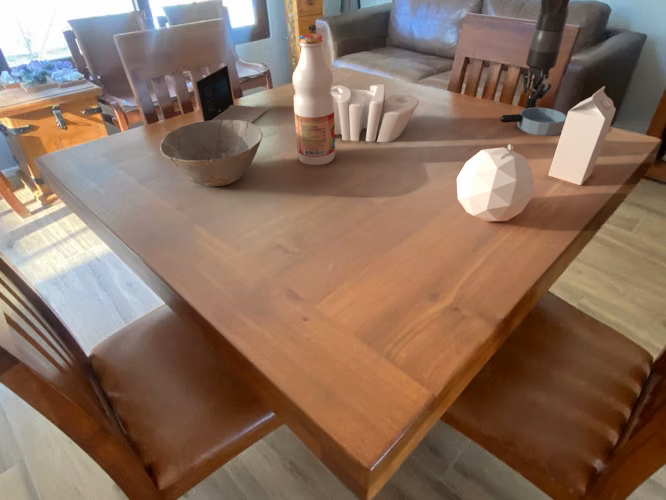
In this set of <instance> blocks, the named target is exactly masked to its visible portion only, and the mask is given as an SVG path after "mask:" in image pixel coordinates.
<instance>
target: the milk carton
mask: <svg viewBox="0 0 666 500" xmlns="http://www.w3.org/2000/svg"><path fill="white" fill-rule="evenodd" d="M605 89H606V86H605V85H604V86H602V87H601V88H600V89H598V90H597V91H595V92H594V93H593V94H592V96H590V97H588V98H586V99H584V100H582V101H579V103H577V104H576V105H574V106H573V107H572V108H570V109H569V110H568V112H567V114H566V115H567V117H566V121H565V124H564V127H563V130H562V133H560V136H559V140H558V143H557V146H556V149H555V152H554V156H553V159H552V162H551V165H550V168H549V172H548V175H547V176H548V177H551V178H555V179H558V180H561V181H564V182H568V183H572V184H574V185H577V186H582V185H583V184H584V183H585V182H586V181H587V180H588V179H589V178H590V176H591V175H592V173H593V172H594V168H595V167H596V163H597V160H598V158H599V155H600V152H601V150H602V147H603V145H604V142H605V139H606V138H607V134H608V131H609V129H610V127H611V124H612V121H613V119H614V116H615V113H616V110H617V109H616V107H615V106H614V101H613V100H612V98H611V97H609V96H608V95H607V94H606V93H605Z"/></svg>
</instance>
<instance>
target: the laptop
mask: <svg viewBox="0 0 666 500" xmlns="http://www.w3.org/2000/svg"><path fill="white" fill-rule="evenodd" d="M231 85H232V84H231V79H230V73H229V67H228V65H227V64H226V65H224V66H222V67H220V68H218V69H216V70H215V71H213V72H211V73H209V74H208V75H206V76H204V77H202V78H200V79H199V80H196V81H195V87H196V92H197V98H198V102H199V106H200V110H201V116H202V122H203V121H210V120H242V121H246V122H250V123H252V124H253V122H254V121H256V120H257V119H258V118H259V117H260V116H261V115H263V114H264V113H265V112H267V110H269V107H264V106H263V107H262V106H250V105H241V104H240V105H238V104H234V96H233V91H232V86H231Z"/></svg>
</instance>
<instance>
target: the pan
mask: <svg viewBox="0 0 666 500" xmlns="http://www.w3.org/2000/svg"><path fill="white" fill-rule="evenodd" d="M566 117H567V114H565V113H564V112H562V111H559V110H557V109H554V108H548V107H534V108H527V109H524V108H523V109H521V110H520V111H519V113H515V114H503V115H502V116H501V117H500V122H501V123H504V124H505V123H517V124H516V127H517V129H519V130H520V131H522V132H524V133H527V134H530V135H535V136H541V137H552V136H557V135H561V133H562V130H563V127H564V124H565V121H566Z"/></svg>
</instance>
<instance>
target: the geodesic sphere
mask: <svg viewBox="0 0 666 500" xmlns="http://www.w3.org/2000/svg"><path fill="white" fill-rule="evenodd" d="M513 148H514V146H512V145H511V144H510V143H509V144H507V147H505V146H502V147H495V148H484V149H481V150H480V151H478V152H477V153H475V154H474V155H473V156H472V157H471V158H470V159H468V160H467V161H466V162H465V164H464V165H463V167H462V168H461V170H460V172H459V174H458V175H457V177H456V191H457V193H456V194H457V200H458V202H459V203H460V205H461V206H462V207H463V209H464V210H465V212H466V213H467V214H469V215H471V216H473V217H475V218H477V219H479V220H481V221H483V222H485V223H488V222H505V221H506V222H508V221H509V220H511V219H512V218H514V217H516V216H517V215H519V214H521V213H522V212H523V211H524V209H525V208H526V206H527V205H528V203H529V202H530V201H531V199H532V198H533V196H534V195H535V193H536V192H535V185H534V183H535V182H534V175H533V170H532V168H531V166H530V164H529V162H528V161H527V158H526V157H525V155H522V154H520V153H518V152H515V151H514V149H513Z"/></svg>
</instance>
